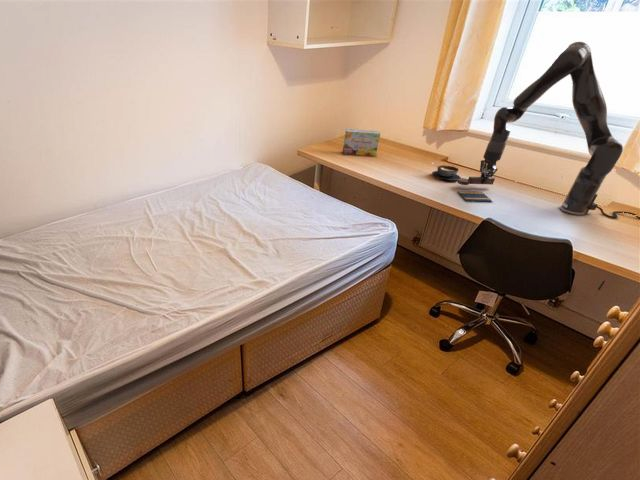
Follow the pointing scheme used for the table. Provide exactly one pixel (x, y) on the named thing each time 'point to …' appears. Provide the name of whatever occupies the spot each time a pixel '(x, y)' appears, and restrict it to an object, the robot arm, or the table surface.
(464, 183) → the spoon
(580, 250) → the table surface
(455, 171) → the black cup and saucer
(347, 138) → the snack box
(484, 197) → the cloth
